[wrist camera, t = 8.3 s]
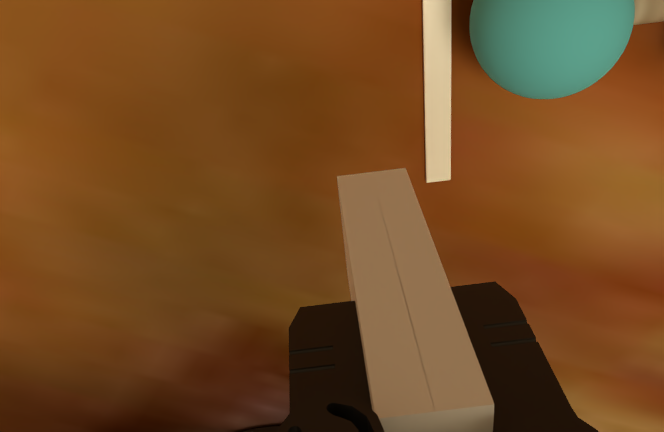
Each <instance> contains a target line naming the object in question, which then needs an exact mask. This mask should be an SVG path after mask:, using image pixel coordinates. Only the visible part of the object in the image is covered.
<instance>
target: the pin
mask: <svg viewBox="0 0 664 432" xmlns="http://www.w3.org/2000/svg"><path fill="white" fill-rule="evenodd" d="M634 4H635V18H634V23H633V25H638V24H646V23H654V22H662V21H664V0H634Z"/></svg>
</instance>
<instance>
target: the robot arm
mask: <svg viewBox="0 0 664 432" xmlns="http://www.w3.org/2000/svg"><path fill="white" fill-rule="evenodd" d="M337 182H338V192H339V201H340V210H341V219H342V228H343V237H344V247H345V256H346V265H347V274H348V282H349V288H350V295H351V301H348V302H340V303H332V304H324V305H315V306H307V307H300V309H299V310H298V312H297V314H296V316H295V318H294V320H293V322H292V323H291V325H290V327H289V353H290V355H289V370H290V374H289V379H290V414H289V415H288V417H287V418H286V419H285V421H284V422H283V423H282V425H281V426H273V427H263V428H257V429H251V430H247V431H243V432H598V430H596V429H595V428H593V427H592V426H590V425H589V424H587V423H586V422H584V421H583V420H581V419H580V418H578V417H577V415H576V414H575V412H574V411H573V409H572V408H571V406H570V404H569V402H568V400H567V398H566V396H565V394H564V392H563V390H562V388H561V386H560V384H559V382H558V380H557V378H556V376H555V375H554V373H553V371H552V369H551V367H550V365H549V363H548V361H547V359H546V357H545V355H544V353H543V351H542V349H541V347H540V345H539V343H538V342H536V337H535V335H534V333H533V331H532V329H531V328H530V326H529V324H527V320H526V318H525V316H524V314H523V312H522V310H521V308H520V306H519V304H518V302H517V300H516V298H514V297H513V296H512V295H511V294H509V293H508V292H507V291H506V290H505V289H503V288H502V287H501V286H500V285H498V284H497V283H496V282H488V283H480V284H472V285H464V286H456V287H450V285H449V282H448V280H447V277H446V274H445V272H444V269H443V266H442V264H441V261H440V258H439V256H438V253H437V250H436V248H435V245H434V242H433V240H432V237H431V234H430V232H429V229H428V226H427V224H426V221H425V218H424V216H423V213H422V210H421V208H420V205H419V202H418V200H417V197H416V195H415V192H414V189H413V187H412V184H411V181H410V179H409V176H408V173H407V171H406V168H401V169H393V170H385V171H377V172H368V173H360V174H352V175H344V176H337Z"/></svg>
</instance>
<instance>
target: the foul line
mask: <svg viewBox="0 0 664 432" xmlns="http://www.w3.org/2000/svg"><path fill="white" fill-rule="evenodd" d="M422 11H423V61H424V110H425V160H426V182H427V183H428V182H437V181H446V180H451V0H422Z"/></svg>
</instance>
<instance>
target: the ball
mask: <svg viewBox="0 0 664 432" xmlns="http://www.w3.org/2000/svg"><path fill="white" fill-rule="evenodd" d="M634 18H635V4H634V0H473V4H472V7H471V13H470V28H469V30H470V39H471V43H472V47H473V50H474V53H475V55H476V58H477V60H478V62H479V64H480V65H481V67H482V68H483V70H484V71H485V72H486V73H487V74H488V76H489V77H490V78H491V79H492V80H493V81H494V82H496V83H497V84H498V85H500V86H501V87H503V88H504V89H506V90H508V91H510V92H512V93H514V94H517V95H520V96H523V97H527V98H533V99H554V98H561V97H565V96H569V95H572V94H574V93H577V92H579V91H581V90H583V89H585V88H587V87H589V86H591V85H592V84H594V83H595V82H597V81H598V80H599V79H600V78H602V77H603V76H604V75H605V74H606V73H607V72H608V71H609V70H610V69H611V68H612V67H613V66H614V64H615V63H616V62H617V61H618V59H619V58H620V56H621V55H622V53H623V51H624V50H625V48H626V45H627V43H628V41H629V38H630V35H631V32H632V29H633V23H634Z"/></svg>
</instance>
